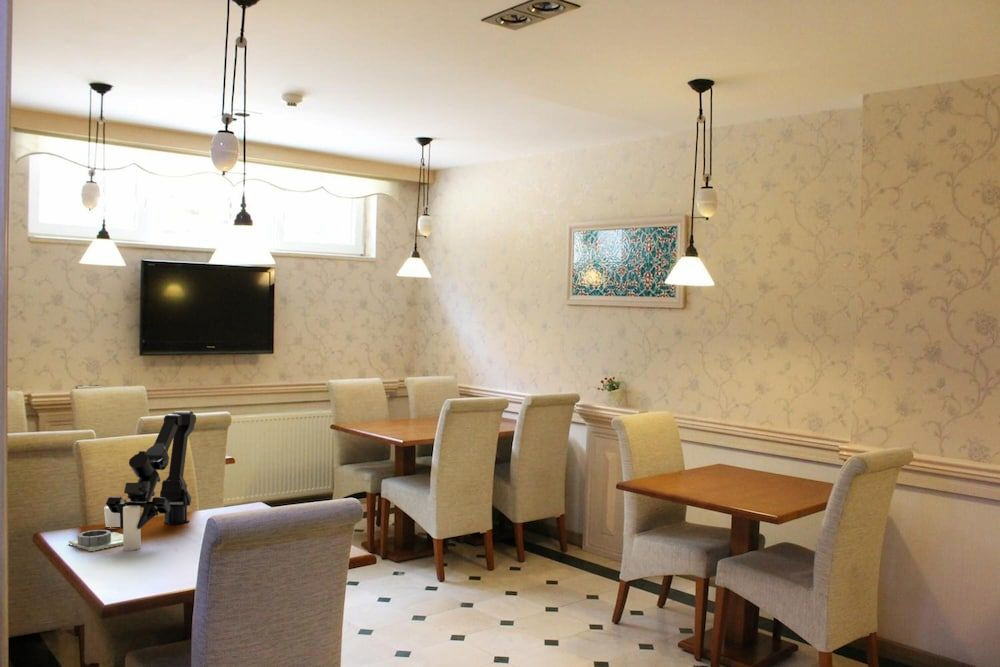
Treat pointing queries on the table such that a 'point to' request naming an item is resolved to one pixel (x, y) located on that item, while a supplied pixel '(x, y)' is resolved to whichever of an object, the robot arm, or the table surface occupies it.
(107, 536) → the grey ring base plate
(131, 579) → the table surface
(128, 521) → the post
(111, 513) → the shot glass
